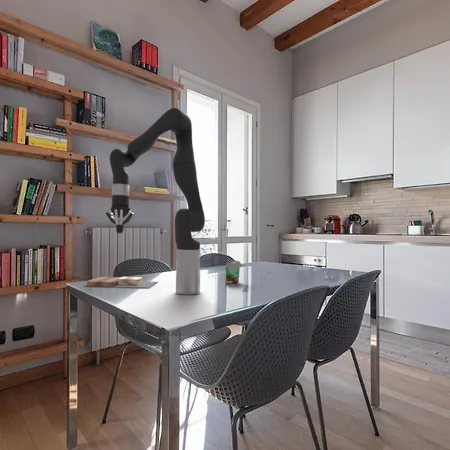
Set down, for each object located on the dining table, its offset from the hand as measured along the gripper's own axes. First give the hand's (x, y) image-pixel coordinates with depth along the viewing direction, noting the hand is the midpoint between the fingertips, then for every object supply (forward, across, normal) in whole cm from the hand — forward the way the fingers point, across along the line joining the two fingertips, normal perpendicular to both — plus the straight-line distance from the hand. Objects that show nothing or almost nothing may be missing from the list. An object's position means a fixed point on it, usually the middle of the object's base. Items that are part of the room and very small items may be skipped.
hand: (119, 233), depth 147 cm
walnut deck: (+22, +4, +3) cm, 23 cm away
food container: (+22, -52, -8) cm, 57 cm away
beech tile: (+22, -6, +3) cm, 23 cm away
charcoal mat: (+22, -10, +3) cm, 24 cm away
